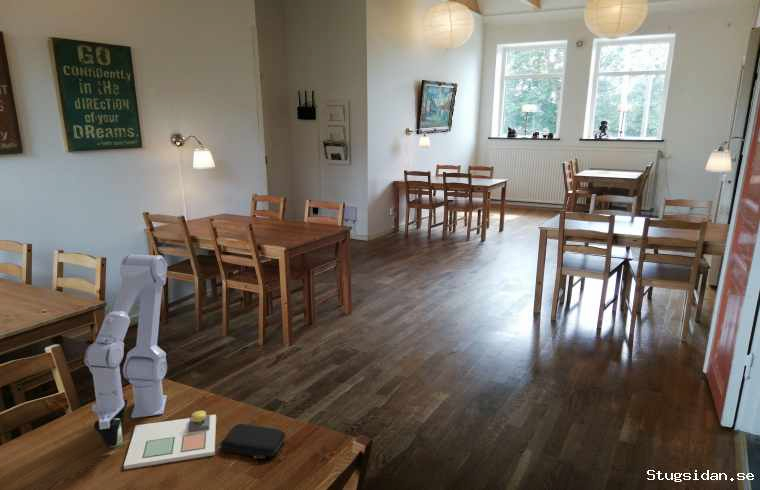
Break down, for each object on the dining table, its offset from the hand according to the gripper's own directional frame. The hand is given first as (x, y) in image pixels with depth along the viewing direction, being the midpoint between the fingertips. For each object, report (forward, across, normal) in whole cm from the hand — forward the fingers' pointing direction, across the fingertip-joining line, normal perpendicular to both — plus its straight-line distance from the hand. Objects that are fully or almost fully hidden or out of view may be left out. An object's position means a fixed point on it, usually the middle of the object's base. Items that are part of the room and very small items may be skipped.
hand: (114, 437), depth 123 cm
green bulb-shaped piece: (+2, 0, 0) cm, 2 cm away
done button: (-1, -1, +20) cm, 20 cm away
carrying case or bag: (+2, +10, +33) cm, 35 cm away
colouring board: (+2, +3, +14) cm, 14 cm away
